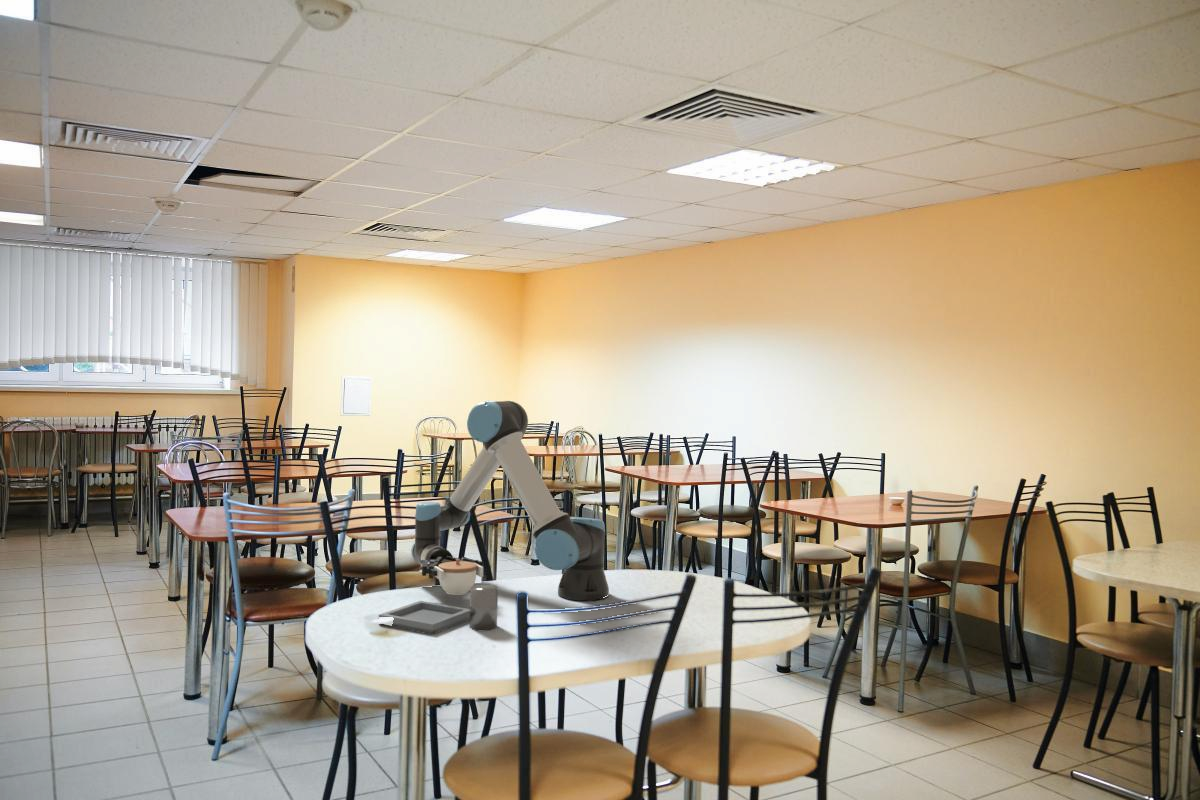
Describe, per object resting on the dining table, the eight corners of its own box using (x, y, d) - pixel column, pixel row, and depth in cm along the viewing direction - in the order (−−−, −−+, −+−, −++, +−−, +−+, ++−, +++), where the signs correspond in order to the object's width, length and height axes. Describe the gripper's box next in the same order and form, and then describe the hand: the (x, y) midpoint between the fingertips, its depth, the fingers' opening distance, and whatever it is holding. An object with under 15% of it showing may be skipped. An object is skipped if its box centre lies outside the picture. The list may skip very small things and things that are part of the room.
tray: (472, 618, 232) (472, 609, 232) (432, 634, 216) (432, 624, 216) (420, 609, 239) (420, 600, 239) (378, 624, 224) (378, 614, 224)
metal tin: (502, 625, 226) (503, 587, 226) (486, 632, 220) (488, 592, 220) (479, 621, 229) (480, 583, 229) (463, 627, 223) (464, 588, 223)
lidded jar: (480, 589, 250) (481, 556, 250) (471, 597, 240) (471, 563, 239) (443, 587, 251) (444, 554, 251) (433, 596, 241) (433, 562, 240)
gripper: (473, 568, 267) (501, 583, 247) (398, 575, 256) (421, 591, 236) (474, 544, 267) (501, 557, 247) (398, 549, 255) (421, 563, 236)
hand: (462, 573), depth 242 cm, fingers closed on lidded jar, 11 cm apart
